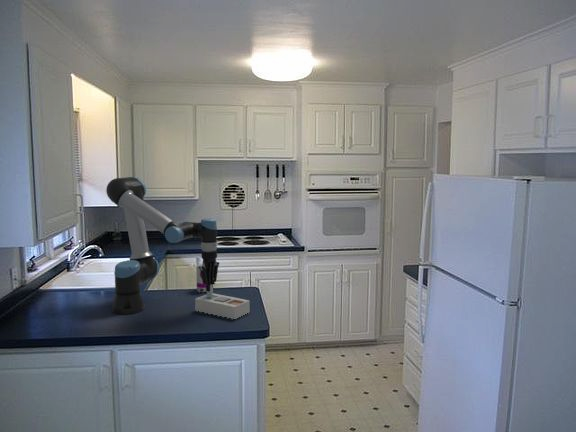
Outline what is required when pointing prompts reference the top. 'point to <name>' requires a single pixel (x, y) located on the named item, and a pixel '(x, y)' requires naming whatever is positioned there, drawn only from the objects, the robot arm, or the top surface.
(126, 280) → the robot arm
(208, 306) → the keypad
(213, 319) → the top surface
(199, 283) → the supplement can
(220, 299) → the grey key
